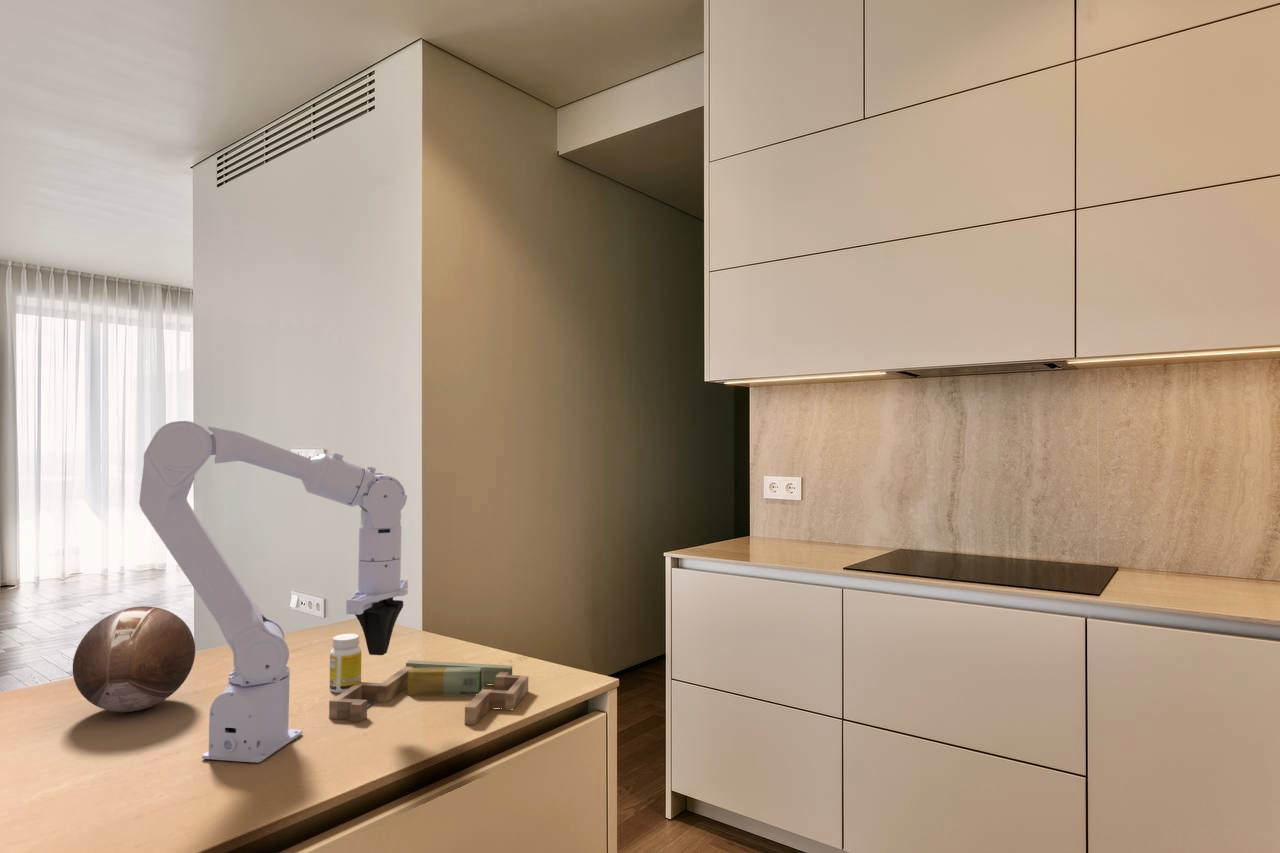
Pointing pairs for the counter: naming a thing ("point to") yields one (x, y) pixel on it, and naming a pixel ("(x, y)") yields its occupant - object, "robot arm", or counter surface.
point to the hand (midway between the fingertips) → (378, 653)
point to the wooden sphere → (133, 659)
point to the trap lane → (366, 694)
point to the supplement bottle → (345, 662)
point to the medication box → (445, 681)
